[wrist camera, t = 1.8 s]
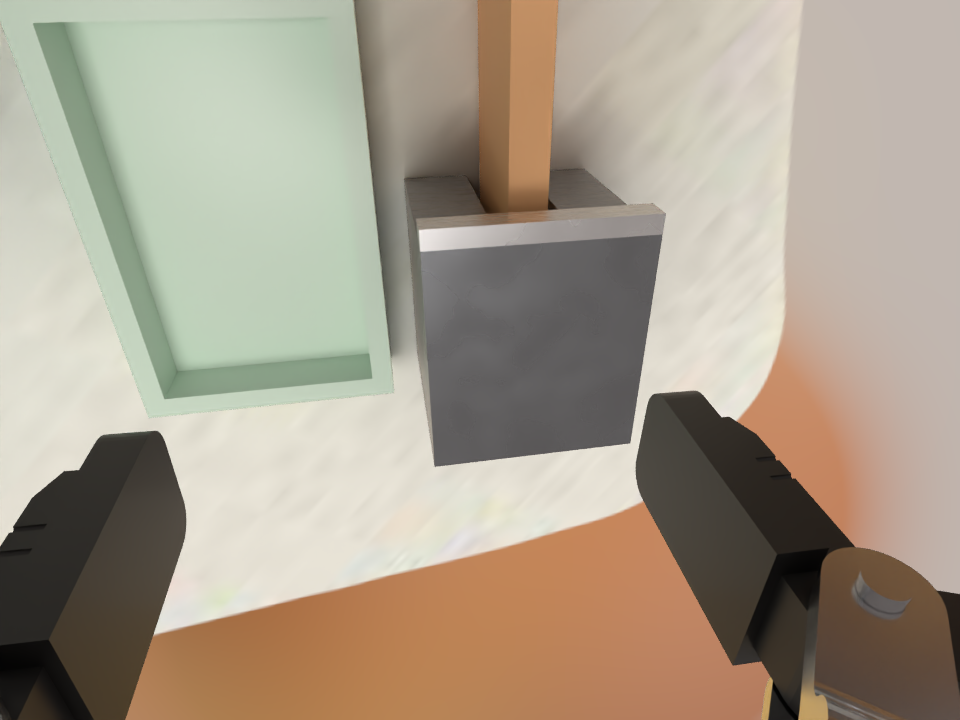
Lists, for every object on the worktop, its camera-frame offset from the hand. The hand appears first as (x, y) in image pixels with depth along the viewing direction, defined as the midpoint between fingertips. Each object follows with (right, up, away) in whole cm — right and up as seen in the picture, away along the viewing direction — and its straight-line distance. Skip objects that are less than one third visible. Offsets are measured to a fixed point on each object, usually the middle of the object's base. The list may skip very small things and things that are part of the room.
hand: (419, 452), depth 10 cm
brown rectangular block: (+2, +14, +18) cm, 23 cm away
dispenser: (+2, +7, +22) cm, 23 cm away
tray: (-10, +9, +19) cm, 23 cm away
